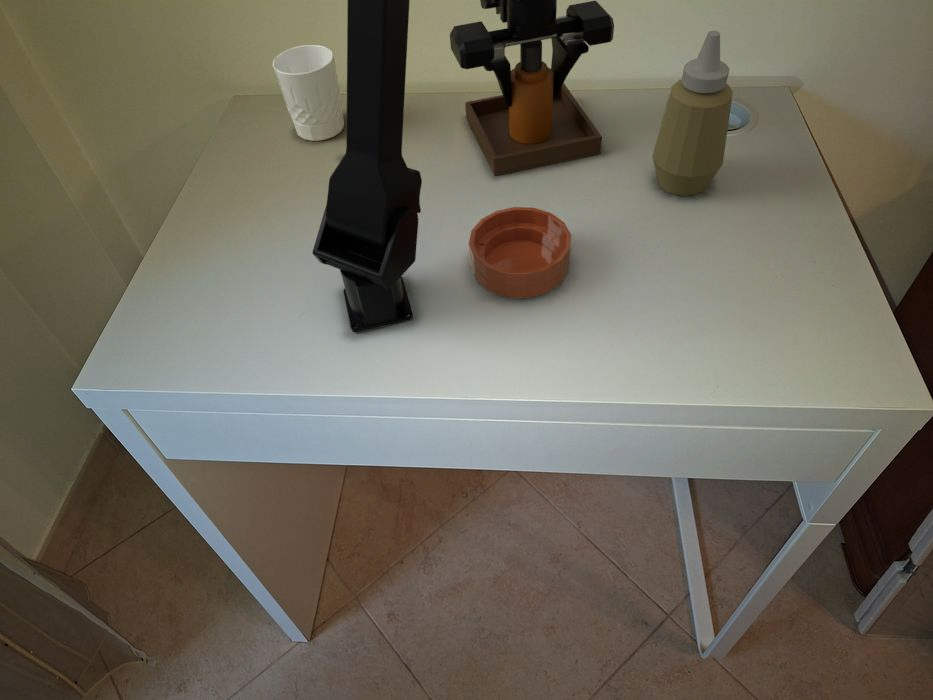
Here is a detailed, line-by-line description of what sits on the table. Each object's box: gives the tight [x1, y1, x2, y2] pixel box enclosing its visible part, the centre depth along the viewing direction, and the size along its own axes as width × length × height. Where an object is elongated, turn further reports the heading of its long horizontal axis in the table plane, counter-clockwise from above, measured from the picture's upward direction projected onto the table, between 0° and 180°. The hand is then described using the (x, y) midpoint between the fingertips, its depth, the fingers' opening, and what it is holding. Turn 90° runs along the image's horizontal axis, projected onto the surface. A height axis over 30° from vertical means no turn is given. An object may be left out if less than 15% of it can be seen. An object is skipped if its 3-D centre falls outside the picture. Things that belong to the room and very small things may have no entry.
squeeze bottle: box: [652, 30, 734, 197], centre depth 75 cm, size 8×8×18 cm
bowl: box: [468, 206, 572, 299], centre depth 72 cm, size 11×11×4 cm
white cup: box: [272, 44, 345, 142], centre depth 91 cm, size 8×8×10 cm
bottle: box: [509, 40, 554, 144], centre depth 85 cm, size 6×6×12 cm
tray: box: [464, 83, 603, 177], centre depth 89 cm, size 14×14×2 cm
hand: (530, 100), depth 86 cm, fingers closed on bottle, 5 cm apart
